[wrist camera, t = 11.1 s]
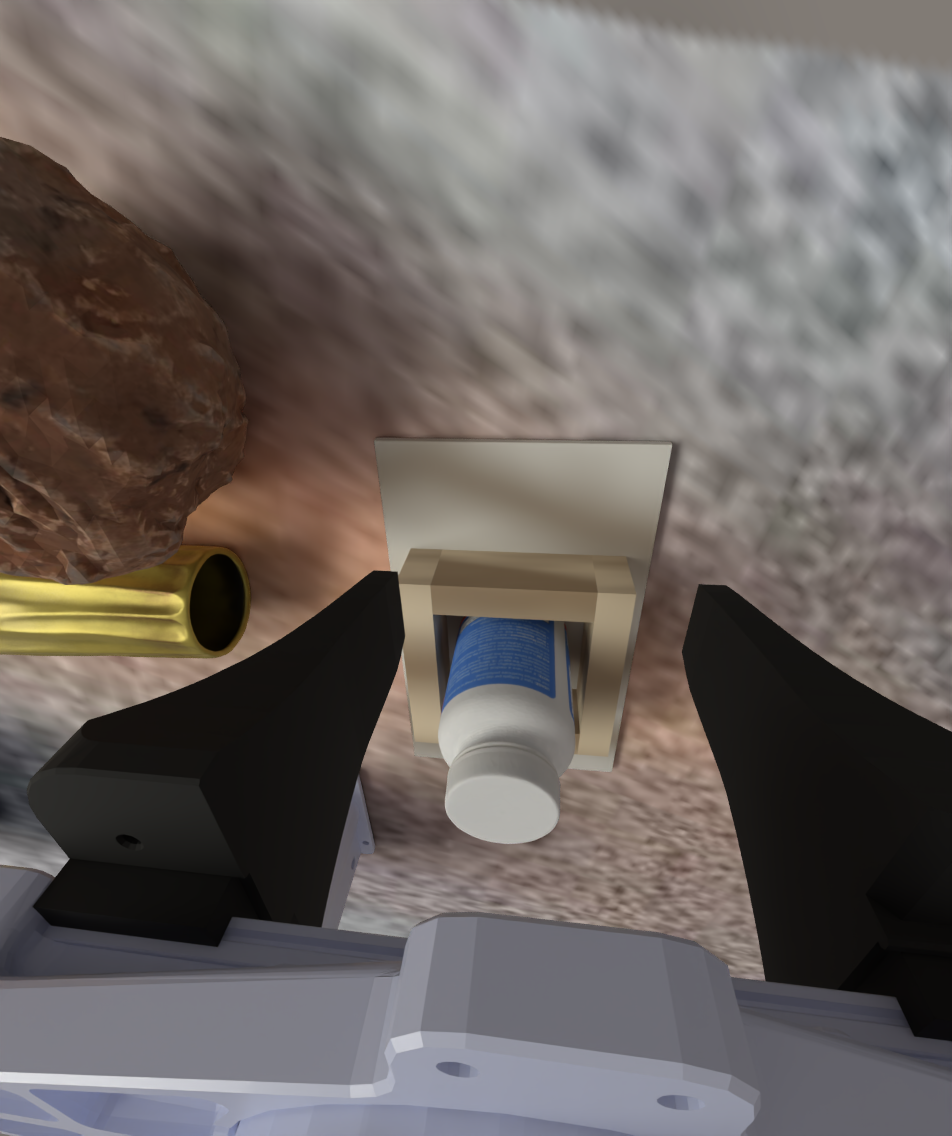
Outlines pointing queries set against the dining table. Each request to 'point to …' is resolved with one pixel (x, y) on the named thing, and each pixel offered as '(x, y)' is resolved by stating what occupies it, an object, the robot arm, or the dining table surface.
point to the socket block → (523, 560)
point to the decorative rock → (101, 384)
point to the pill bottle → (507, 727)
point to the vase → (132, 610)
